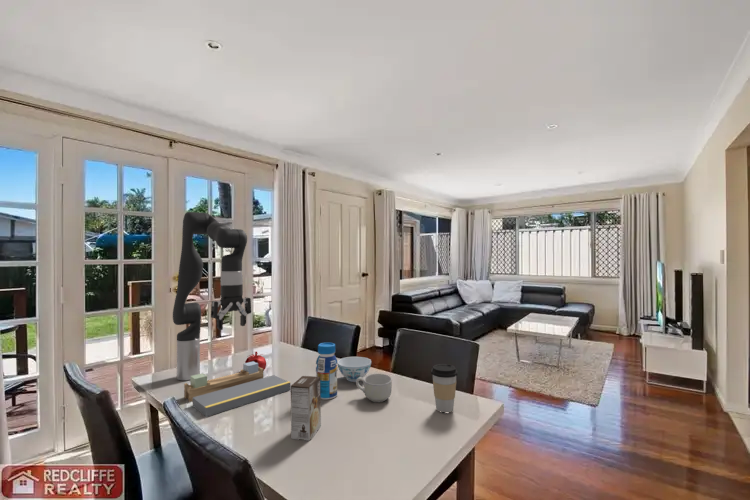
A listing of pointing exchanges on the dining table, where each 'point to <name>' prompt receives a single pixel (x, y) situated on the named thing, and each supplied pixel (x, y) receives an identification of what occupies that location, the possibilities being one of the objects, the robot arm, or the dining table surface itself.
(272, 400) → the dining table surface
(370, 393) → the teacup
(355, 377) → the chinaware
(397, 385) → the dining table surface
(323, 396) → the beverage bottle
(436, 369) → the coffee cup
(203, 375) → the block
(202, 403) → the plate
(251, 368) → the pale blue block
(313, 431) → the coffee box
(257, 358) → the pomegranate
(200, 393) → the long wooden trough
